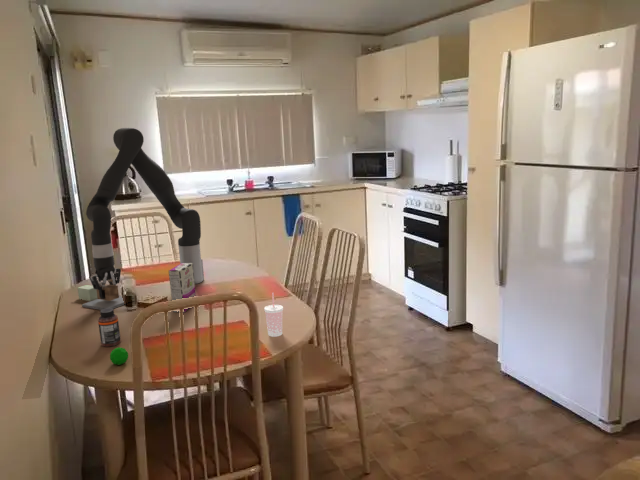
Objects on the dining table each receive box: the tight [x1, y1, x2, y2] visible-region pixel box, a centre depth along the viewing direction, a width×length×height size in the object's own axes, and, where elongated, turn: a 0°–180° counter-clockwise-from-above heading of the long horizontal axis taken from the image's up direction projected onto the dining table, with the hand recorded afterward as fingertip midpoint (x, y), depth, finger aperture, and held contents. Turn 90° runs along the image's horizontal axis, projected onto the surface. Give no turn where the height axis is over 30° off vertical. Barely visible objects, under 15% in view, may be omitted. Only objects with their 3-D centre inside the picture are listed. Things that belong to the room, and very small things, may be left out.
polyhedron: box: [109, 347, 129, 366], centre depth 155 cm, size 5×5×5 cm
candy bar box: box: [168, 263, 197, 313], centre depth 202 cm, size 11×5×16 cm, turn 168°
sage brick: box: [77, 284, 98, 302], centre depth 220 cm, size 4×7×5 cm, turn 61°
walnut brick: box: [96, 283, 120, 301], centre depth 212 cm, size 4×7×5 cm, turn 62°
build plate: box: [81, 295, 124, 311], centre depth 213 cm, size 14×14×1 cm
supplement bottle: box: [97, 308, 122, 347], centre depth 169 cm, size 6×6×11 cm
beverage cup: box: [263, 292, 284, 338], centre depth 172 cm, size 6×6×14 cm
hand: (108, 296), depth 212 cm, fingers closed on walnut brick, 4 cm apart
